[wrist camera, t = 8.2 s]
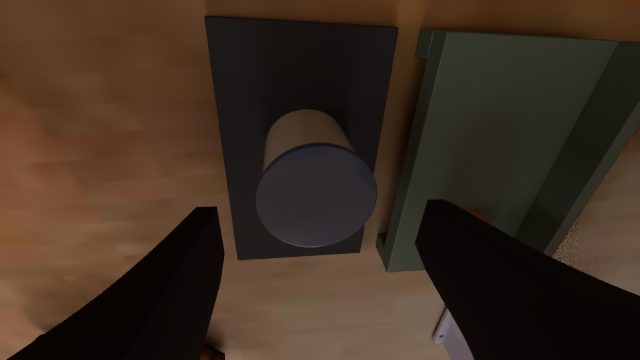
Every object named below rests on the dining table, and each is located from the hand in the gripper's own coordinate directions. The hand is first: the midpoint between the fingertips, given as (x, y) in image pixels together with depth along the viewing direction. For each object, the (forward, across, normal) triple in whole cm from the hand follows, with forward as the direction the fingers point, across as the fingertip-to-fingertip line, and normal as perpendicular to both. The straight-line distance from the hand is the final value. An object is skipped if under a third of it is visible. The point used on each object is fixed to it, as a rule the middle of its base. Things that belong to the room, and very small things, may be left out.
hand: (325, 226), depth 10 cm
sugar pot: (+6, 0, 0) cm, 6 cm away
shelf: (+7, -10, +1) cm, 12 cm away
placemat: (+7, 0, +1) cm, 7 cm away
